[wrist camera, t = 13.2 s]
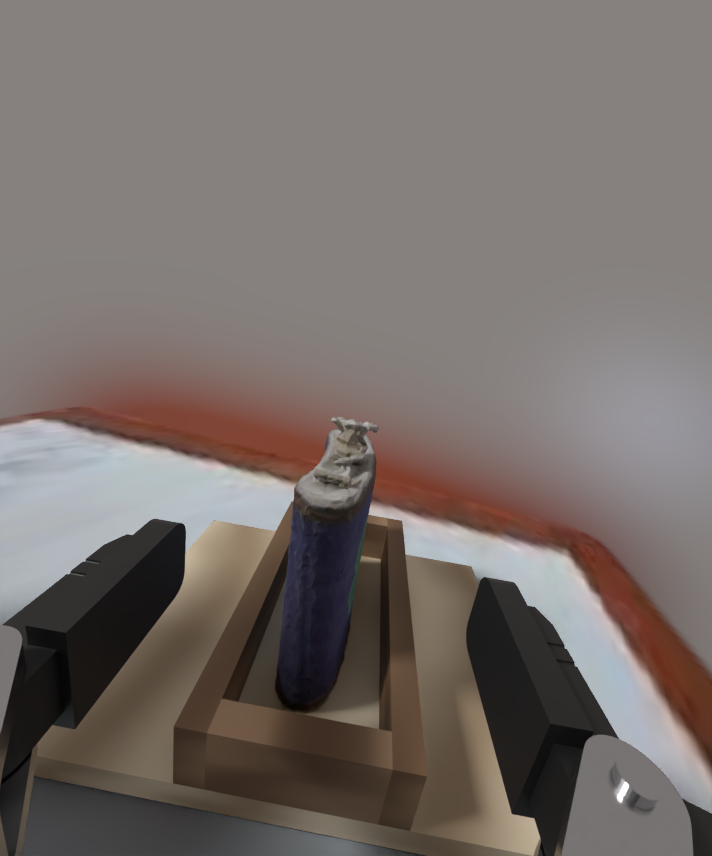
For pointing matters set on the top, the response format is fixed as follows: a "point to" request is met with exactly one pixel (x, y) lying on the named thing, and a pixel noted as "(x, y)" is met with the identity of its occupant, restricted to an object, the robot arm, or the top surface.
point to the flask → (324, 566)
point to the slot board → (315, 731)
